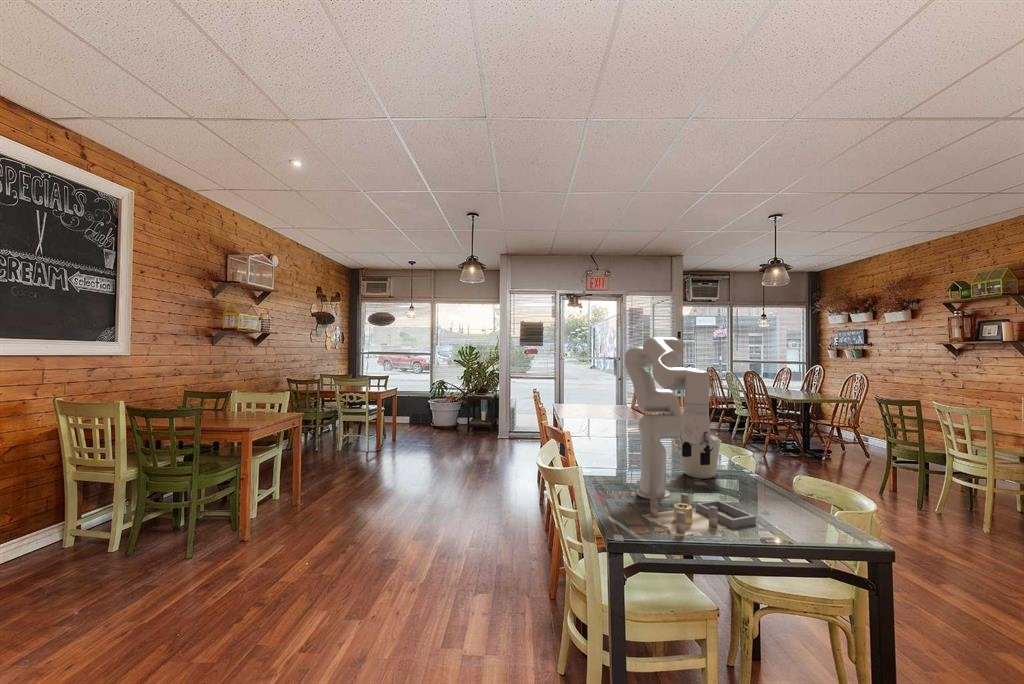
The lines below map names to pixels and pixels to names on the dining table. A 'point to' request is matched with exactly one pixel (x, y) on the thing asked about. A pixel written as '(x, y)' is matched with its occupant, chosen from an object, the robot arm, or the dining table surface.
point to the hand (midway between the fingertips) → (695, 460)
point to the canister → (693, 463)
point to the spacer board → (689, 528)
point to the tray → (742, 516)
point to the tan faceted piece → (683, 508)
